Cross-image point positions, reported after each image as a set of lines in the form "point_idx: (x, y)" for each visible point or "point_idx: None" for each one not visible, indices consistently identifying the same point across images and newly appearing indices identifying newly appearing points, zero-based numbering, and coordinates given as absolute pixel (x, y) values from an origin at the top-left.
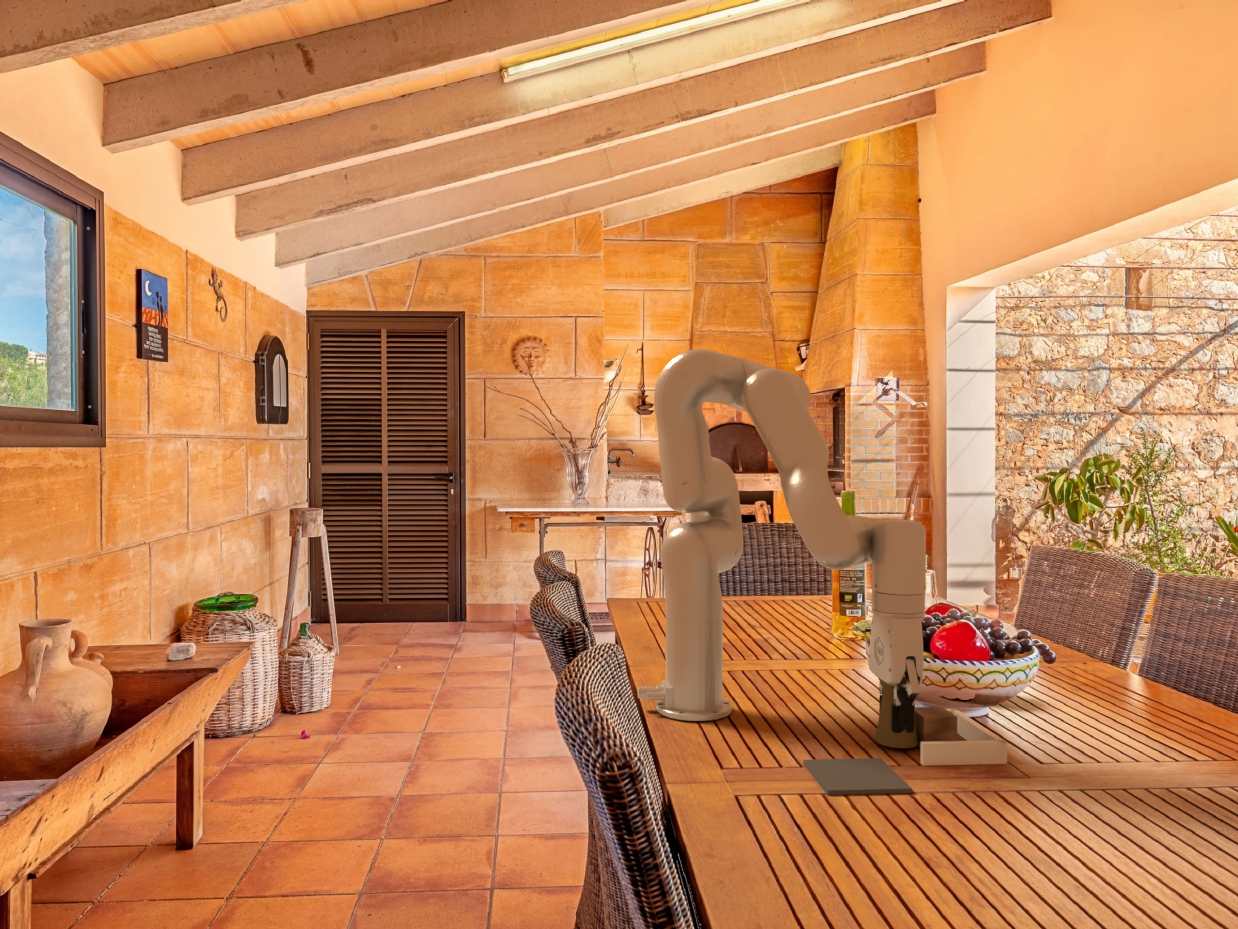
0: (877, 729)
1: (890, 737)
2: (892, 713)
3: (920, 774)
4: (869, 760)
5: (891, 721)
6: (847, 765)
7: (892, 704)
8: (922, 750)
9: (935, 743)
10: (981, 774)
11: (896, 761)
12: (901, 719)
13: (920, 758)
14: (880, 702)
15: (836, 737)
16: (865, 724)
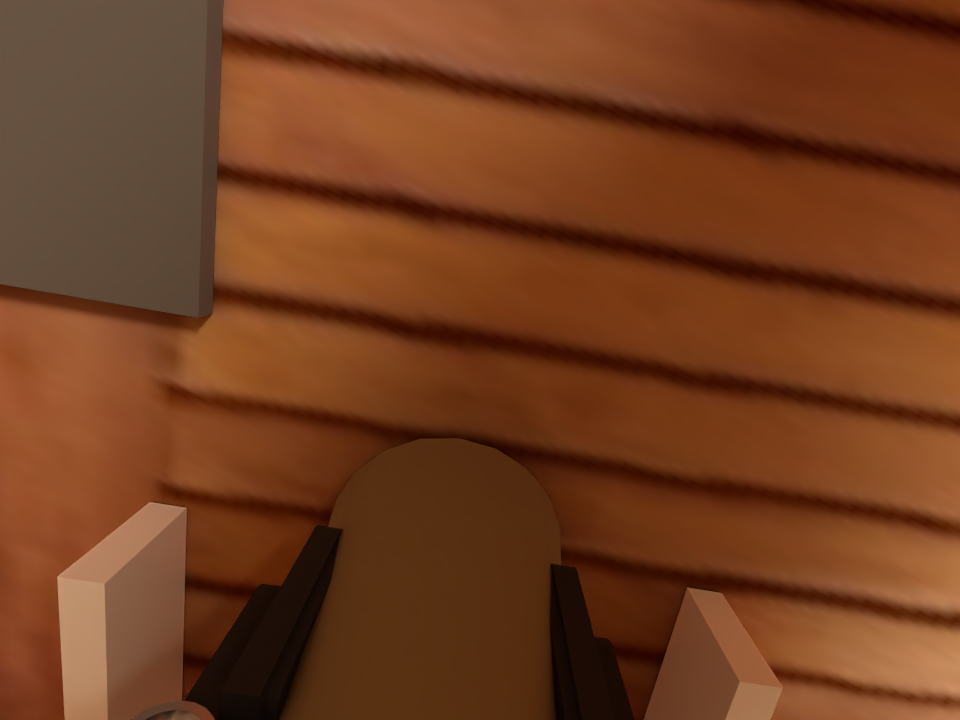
0: (484, 486)
1: (355, 496)
2: (271, 622)
3: (32, 424)
4: (163, 228)
5: (316, 569)
6: (77, 26)
7: (255, 704)
8: (105, 549)
9: (64, 644)
10: (32, 673)
11: (226, 408)
12: (230, 634)
13: (171, 521)
14: (581, 682)
15: (680, 278)
16: (826, 555)
